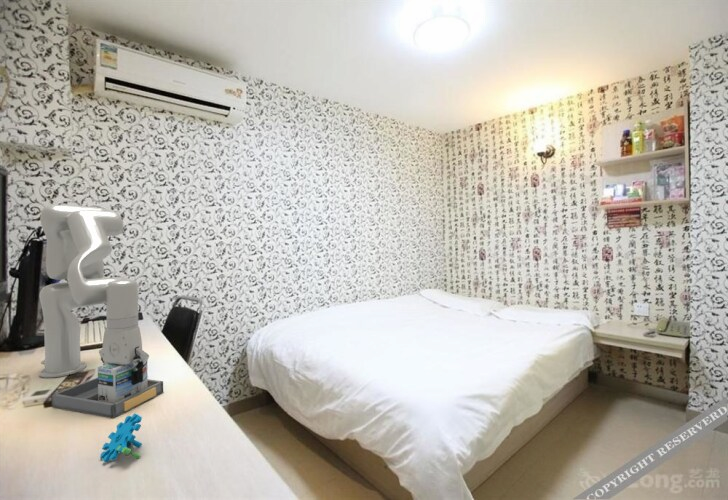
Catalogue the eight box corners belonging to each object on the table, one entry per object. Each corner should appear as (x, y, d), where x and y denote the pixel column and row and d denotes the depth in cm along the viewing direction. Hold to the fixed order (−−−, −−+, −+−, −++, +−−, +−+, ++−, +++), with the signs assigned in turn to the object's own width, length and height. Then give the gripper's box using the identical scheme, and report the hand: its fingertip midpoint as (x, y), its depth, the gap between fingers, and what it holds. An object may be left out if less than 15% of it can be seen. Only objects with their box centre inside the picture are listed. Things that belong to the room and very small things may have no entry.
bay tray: (52, 407, 97) (51, 394, 97) (107, 384, 113) (107, 373, 113) (114, 418, 91) (114, 405, 91) (164, 392, 107) (164, 381, 107)
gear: (97, 441, 78) (134, 403, 82) (120, 451, 81) (155, 414, 85) (97, 474, 70) (139, 430, 73) (123, 484, 73) (161, 441, 76)
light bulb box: (115, 408, 95) (114, 369, 95) (96, 405, 97) (96, 366, 96) (149, 391, 105) (148, 356, 105) (131, 389, 107) (130, 354, 107)
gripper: (86, 323, 99) (88, 383, 99) (134, 328, 94) (135, 390, 95) (112, 317, 106) (113, 373, 106) (157, 321, 101) (158, 379, 102)
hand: (124, 381), depth 100 cm, fingers open, 9 cm apart
